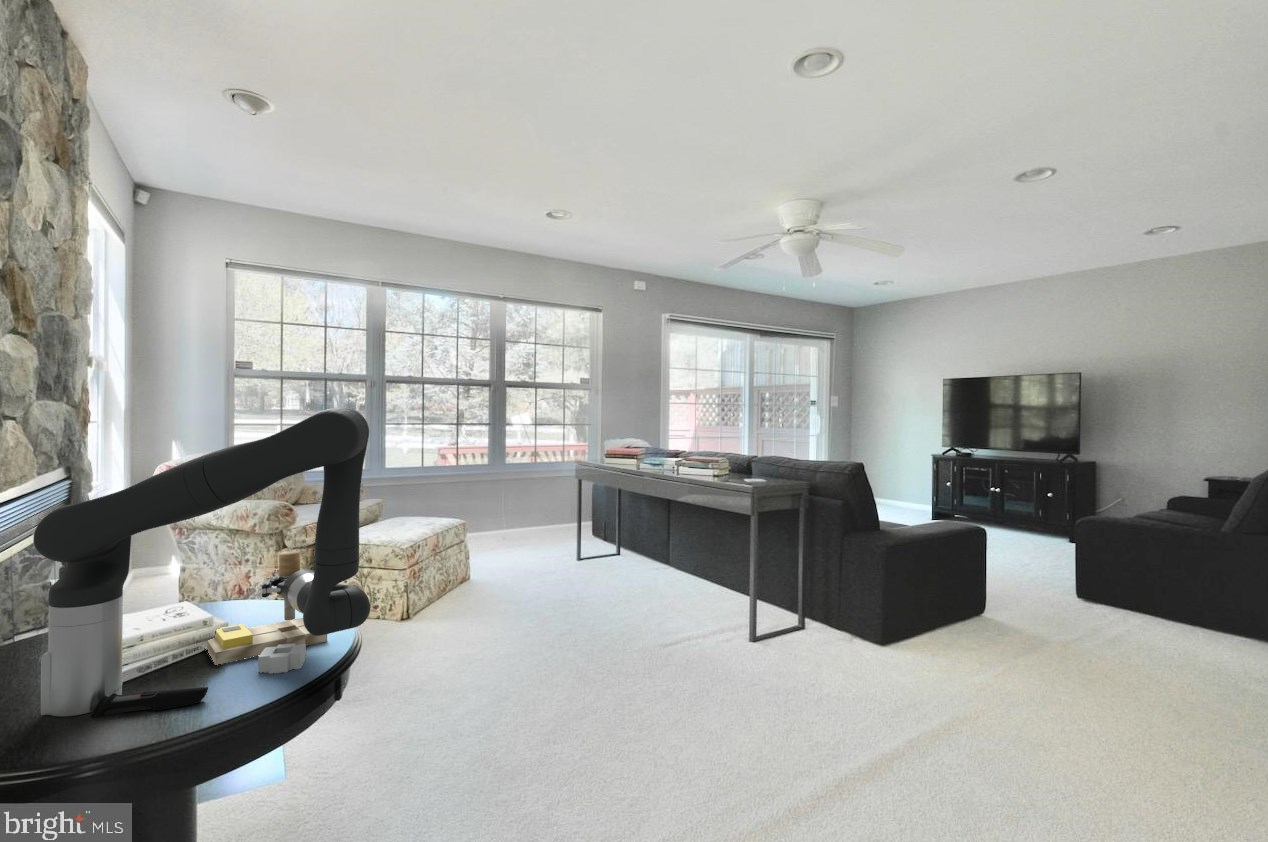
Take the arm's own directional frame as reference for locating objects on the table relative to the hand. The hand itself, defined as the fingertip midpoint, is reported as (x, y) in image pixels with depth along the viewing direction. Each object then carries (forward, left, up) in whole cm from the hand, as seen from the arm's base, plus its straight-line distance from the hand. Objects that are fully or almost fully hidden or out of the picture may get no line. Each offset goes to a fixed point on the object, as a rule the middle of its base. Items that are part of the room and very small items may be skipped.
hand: (286, 576), depth 136 cm
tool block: (+3, -17, -13) cm, 22 cm away
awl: (+1, -3, -8) cm, 9 cm away
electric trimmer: (-13, -31, -14) cm, 36 cm away
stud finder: (-8, -7, -11) cm, 15 cm away
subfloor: (-3, -4, -13) cm, 14 cm away
